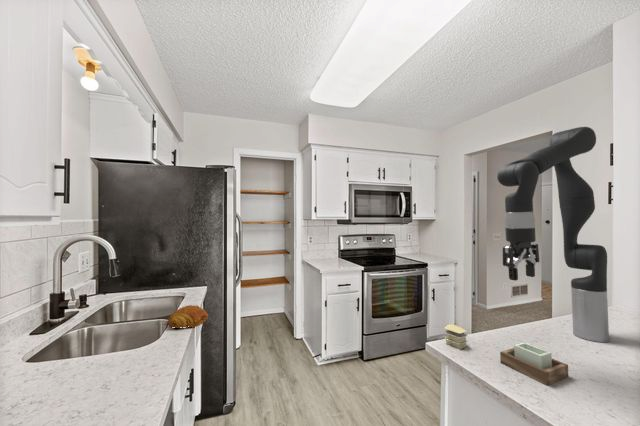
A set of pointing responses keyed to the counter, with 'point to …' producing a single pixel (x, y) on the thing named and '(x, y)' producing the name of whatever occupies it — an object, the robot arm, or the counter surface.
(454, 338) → the stacked layers on plate
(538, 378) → the big crate
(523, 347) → the box
